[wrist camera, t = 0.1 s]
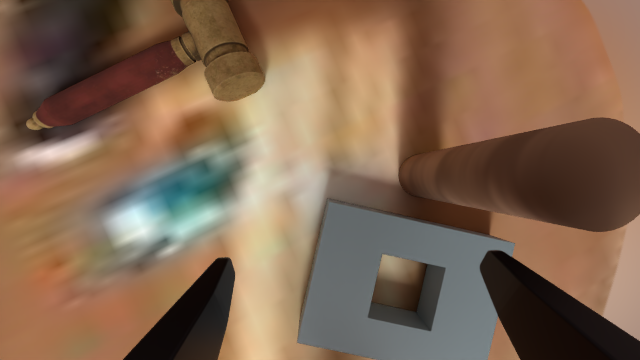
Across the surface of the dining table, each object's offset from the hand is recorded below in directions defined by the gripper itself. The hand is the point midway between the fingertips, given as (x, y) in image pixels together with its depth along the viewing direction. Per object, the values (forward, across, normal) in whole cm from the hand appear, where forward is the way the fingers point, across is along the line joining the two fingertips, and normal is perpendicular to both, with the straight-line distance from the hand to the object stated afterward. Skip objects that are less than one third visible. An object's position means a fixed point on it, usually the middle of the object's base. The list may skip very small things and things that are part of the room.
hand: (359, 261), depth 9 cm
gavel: (+20, +17, -2) cm, 26 cm away
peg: (+14, -8, +6) cm, 17 cm away
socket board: (+9, -6, +14) cm, 17 cm away
